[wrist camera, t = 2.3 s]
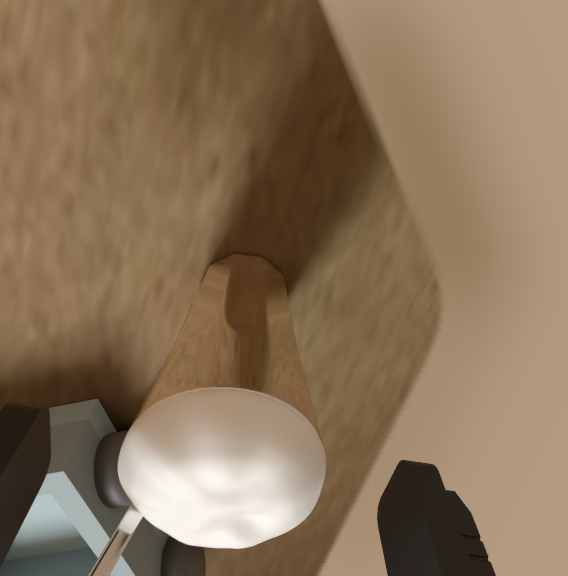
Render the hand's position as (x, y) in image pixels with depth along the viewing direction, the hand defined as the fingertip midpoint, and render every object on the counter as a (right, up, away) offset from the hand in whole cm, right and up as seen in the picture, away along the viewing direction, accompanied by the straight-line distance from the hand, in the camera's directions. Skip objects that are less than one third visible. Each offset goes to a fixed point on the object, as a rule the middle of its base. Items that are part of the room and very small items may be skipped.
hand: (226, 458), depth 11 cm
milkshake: (-1, +4, +7) cm, 8 cm away
